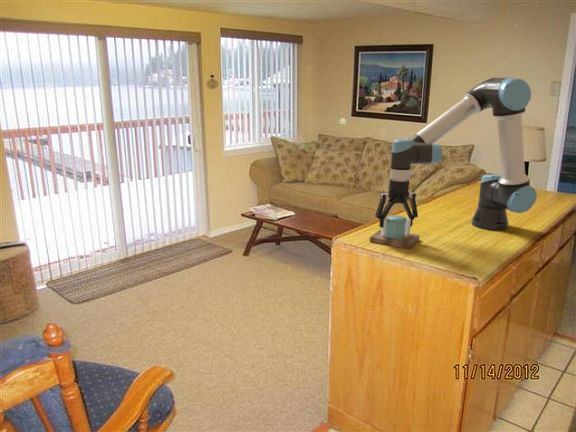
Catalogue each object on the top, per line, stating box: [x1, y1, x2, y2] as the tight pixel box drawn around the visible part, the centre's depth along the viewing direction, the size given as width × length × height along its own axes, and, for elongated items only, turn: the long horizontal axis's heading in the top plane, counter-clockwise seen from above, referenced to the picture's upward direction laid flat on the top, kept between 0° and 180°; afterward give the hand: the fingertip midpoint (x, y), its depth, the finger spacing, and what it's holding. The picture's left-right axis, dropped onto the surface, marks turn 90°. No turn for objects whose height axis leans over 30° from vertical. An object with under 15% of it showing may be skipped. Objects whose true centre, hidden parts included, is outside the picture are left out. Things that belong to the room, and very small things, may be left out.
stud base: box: [369, 228, 420, 250], centre depth 192 cm, size 16×13×8 cm
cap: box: [385, 214, 407, 239], centre depth 192 cm, size 8×8×8 cm
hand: (395, 234), depth 193 cm, fingers open, 9 cm apart
